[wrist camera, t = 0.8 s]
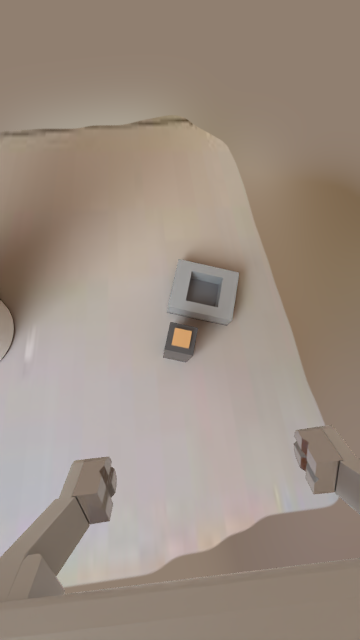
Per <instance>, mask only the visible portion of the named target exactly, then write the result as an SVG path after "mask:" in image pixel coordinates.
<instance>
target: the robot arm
mask: <svg viewBox="0 0 360 640" xmlns="http://www.w3.org/2000/svg"><path fill="white" fill-rule="evenodd" d="M13 333H14V324H13V319H12V316H11V313H10V311H9V310H8V308H7V307H6V306H5V305H4V304H3V302H2V301H1V300H0V360H1V359H2V358H3V356H4V355H5V354H6V352H7V351H8V349H9V347H10V344H11V342H12V338H13ZM294 437H295V439H296V442H295V444H294V452H295V456H296V459H297V462H298V464H299V466H300V468H301V469H303V470H304V471H305V472H306V477H305V478H306V480H307V482H308V484H309V486H310V488H311V490H312V492H313V494H322V493H332V492H335V493H336V494H337V495H338V496H339V497H340V498H341V499H343V500H344V501H345V502H346V503H347V504H349V506H351V507H352V508H353V509H354V510H355V511H356V512H358V513H359V514H360V459H357V457H356V456H355V455H354V453H353V452H352V451H351V449H350V448H349V447H348V445H347V444H346V442H345V441H344V440H343V438H342V437H341V436H340V435H339V433H338V432H337V430H336V429H335V428H334V427H333V426H331V425H329V426H322V427H313V428H307V429H300V430H296V431H295V434H294ZM111 463H112V461H111V459H110V457H101V458H92V459H84V460H76V461H74V462H73V464H72V465H71V468H70V471H69V473H68V476H67V478H66V481H65V484H64V486H63V489H62V491H61V494H60V497H59V499H55V500H54V501H53V502H52V503H51V504H50V506H49V507H48V508H47V509H46V510H45V511H44V512H43V513H42V514H41V515H40V516H39V517H38V518H37V519H36V520H35V521H34V523H33V524H32V525H31V526H30V527H29V528H28V529H27V530H26V531H25V532H24V533H23V534H22V535H21V536H20V537H19V538H18V539H17V541H16V542H15V543H14V544H13V545H12V546H11V547H10V548H9V549H8V550H7V551H6V552H5V553H4V554H3V555H2V556H1V558H0V640H360V558H355V559H348V560H339V561H331V562H323V563H314V564H306V565H298V566H290V567H281V568H273V569H265V570H257V571H249V572H241V573H233V574H225V575H216V576H208V577H200V578H192V579H183V580H176V581H167V582H159V583H151V584H144V585H135V586H127V587H118V588H111V589H103V590H94V591H86V592H78V593H70V594H64V592H65V590H64V588H63V586H62V584H61V583H60V582H59V580H58V579H57V577H56V576H57V574H58V573H59V571H60V570H61V568H62V567H63V565H64V564H65V562H66V561H67V559H68V558H69V556H70V555H71V553H72V552H73V550H74V549H75V547H76V546H77V544H78V543H79V541H80V539H81V538H82V536H83V535H84V533H85V532H86V530H87V529H88V527H89V524H95V523H101V522H107V521H110V517H111V512H112V507H113V502H112V500H111V497H112V496H113V495H114V494H115V491H116V484H117V477H116V472H115V469H114V468H113V467H111Z"/></svg>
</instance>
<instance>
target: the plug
mask: <svg viewBox="0 0 360 640" xmlns="http://www.w3.org/2000/svg"><path fill="white" fill-rule="evenodd" d="M197 331H198V328H196V327H191V326H186V325H182V324H177V323H173V322H170V327H169V331H168V336H167V341H166V345H165V350H164V355H163V358H168V359H173V360H177V361H182V362H187V361H188V360H189V359H190V358H191V357H192V356H193V352H194V347H195V341H196V336H197Z"/></svg>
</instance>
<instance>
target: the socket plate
mask: <svg viewBox="0 0 360 640" xmlns="http://www.w3.org/2000/svg"><path fill="white" fill-rule="evenodd" d="M238 278H239V272H235V271H230V270H226V269H221V268H217V267H212V266H208V265H203V264H199V263H194V262H190V261H185V260H181V259H179V260H178V264H177V268H176V273H175V277H174V282H173V286H172V291H171V295H170V300H169V304H168V310H167V313H172V314H176V315H181V316H186V317H190V318H195V319H199V320H204V321H209V322H213V323H218V324H222V325H228V324H229V323H230V322H231V321H232V318H233V311H234V305H235V298H236V291H237V285H238Z"/></svg>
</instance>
